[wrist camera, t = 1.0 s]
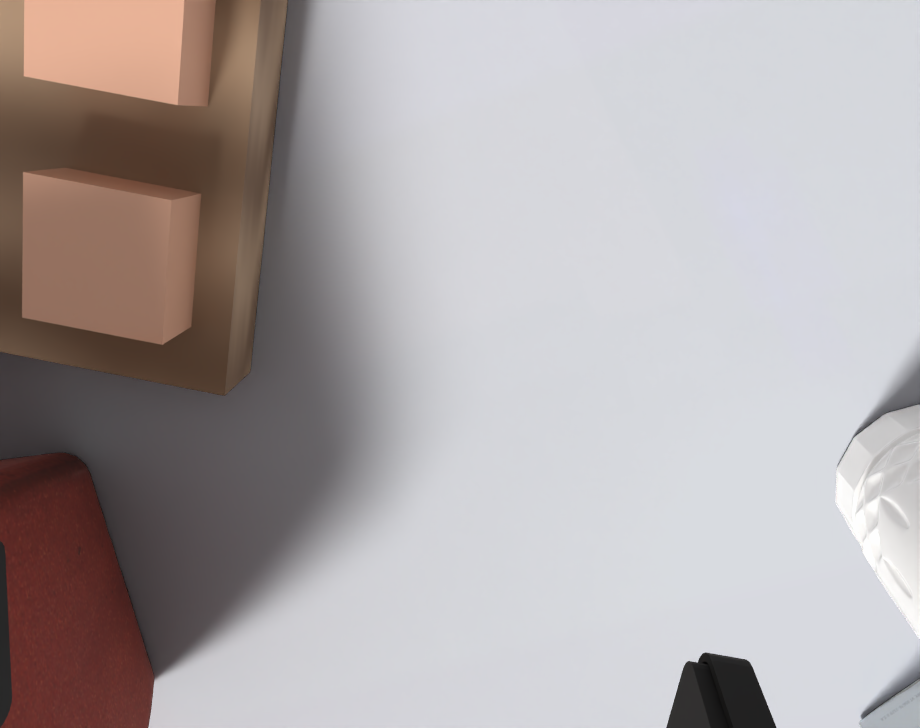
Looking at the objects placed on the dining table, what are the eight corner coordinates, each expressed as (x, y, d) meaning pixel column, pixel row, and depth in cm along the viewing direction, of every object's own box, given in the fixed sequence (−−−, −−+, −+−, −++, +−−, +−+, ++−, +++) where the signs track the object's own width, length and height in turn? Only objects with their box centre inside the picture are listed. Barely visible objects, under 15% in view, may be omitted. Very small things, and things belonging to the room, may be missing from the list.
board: (23, -155, 28) (-34, -187, 25) (298, -105, 28) (272, -131, 25) (20, 327, 34) (-27, 346, 31) (250, 372, 33) (224, 395, 30)
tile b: (65, 167, 28) (23, 171, 26) (201, 193, 28) (171, 200, 26) (62, 301, 30) (22, 317, 27) (191, 326, 30) (162, 344, 27)
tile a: (70, -80, 26) (25, -100, 23) (219, -53, 26) (188, -70, 23) (67, 80, 27) (23, 76, 25) (207, 106, 27) (177, 105, 25)
